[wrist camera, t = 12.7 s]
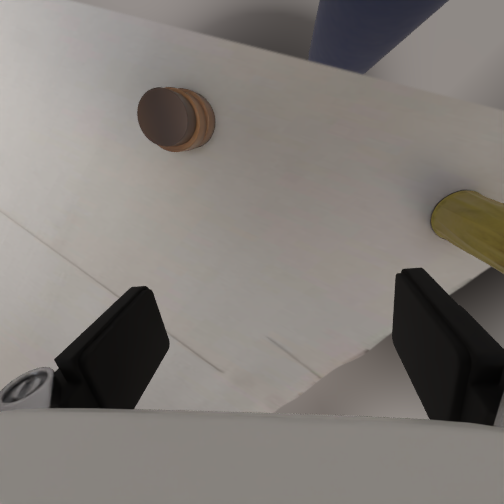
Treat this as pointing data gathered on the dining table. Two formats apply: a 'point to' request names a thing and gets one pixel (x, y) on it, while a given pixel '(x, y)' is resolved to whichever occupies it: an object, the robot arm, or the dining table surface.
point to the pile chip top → (200, 124)
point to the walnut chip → (166, 117)
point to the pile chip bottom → (209, 115)
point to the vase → (472, 225)
